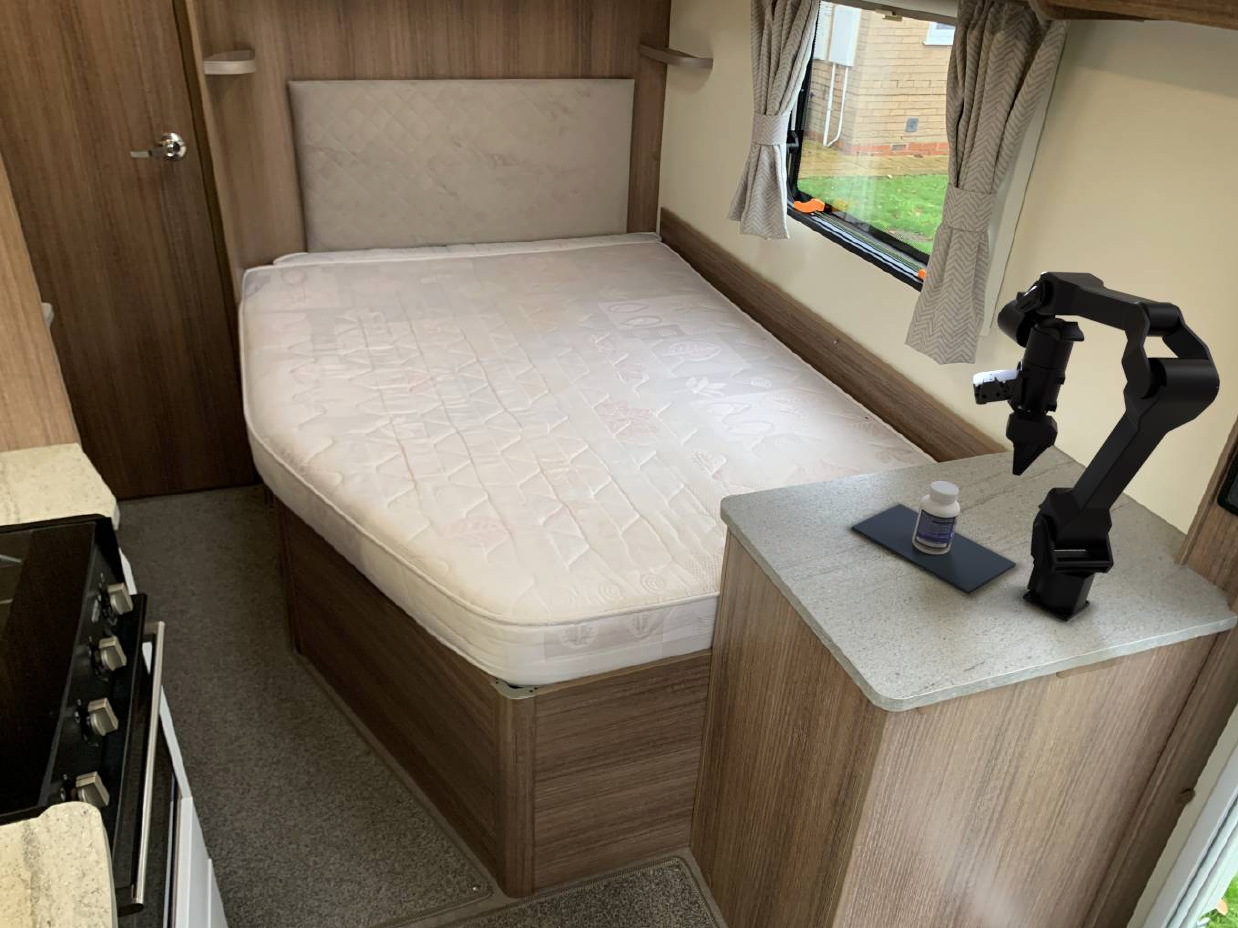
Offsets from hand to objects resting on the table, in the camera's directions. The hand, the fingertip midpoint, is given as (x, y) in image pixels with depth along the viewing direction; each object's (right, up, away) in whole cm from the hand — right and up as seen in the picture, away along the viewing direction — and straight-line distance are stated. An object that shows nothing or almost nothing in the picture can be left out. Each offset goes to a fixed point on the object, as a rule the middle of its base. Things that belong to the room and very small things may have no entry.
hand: (1016, 461), depth 139 cm
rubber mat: (-12, -13, 0) cm, 18 cm away
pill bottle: (-13, -13, 0) cm, 18 cm away
